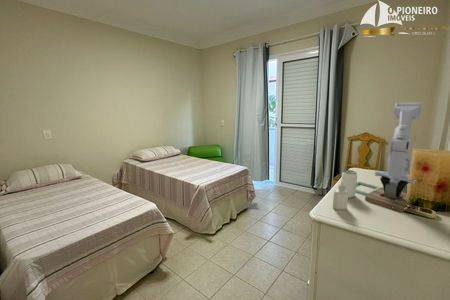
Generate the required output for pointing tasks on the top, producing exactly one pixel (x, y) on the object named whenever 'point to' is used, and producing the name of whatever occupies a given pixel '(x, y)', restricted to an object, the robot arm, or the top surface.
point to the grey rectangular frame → (368, 186)
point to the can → (349, 182)
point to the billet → (391, 191)
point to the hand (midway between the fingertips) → (391, 194)
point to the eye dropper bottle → (340, 198)
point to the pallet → (387, 200)
